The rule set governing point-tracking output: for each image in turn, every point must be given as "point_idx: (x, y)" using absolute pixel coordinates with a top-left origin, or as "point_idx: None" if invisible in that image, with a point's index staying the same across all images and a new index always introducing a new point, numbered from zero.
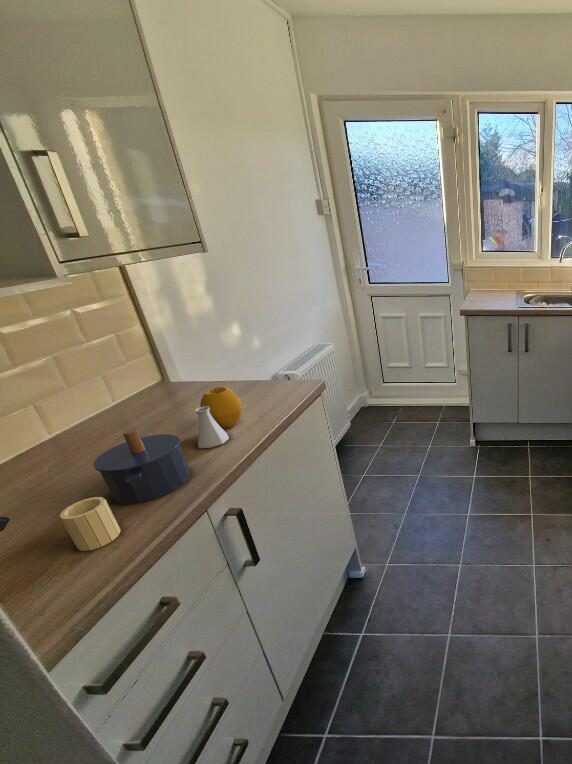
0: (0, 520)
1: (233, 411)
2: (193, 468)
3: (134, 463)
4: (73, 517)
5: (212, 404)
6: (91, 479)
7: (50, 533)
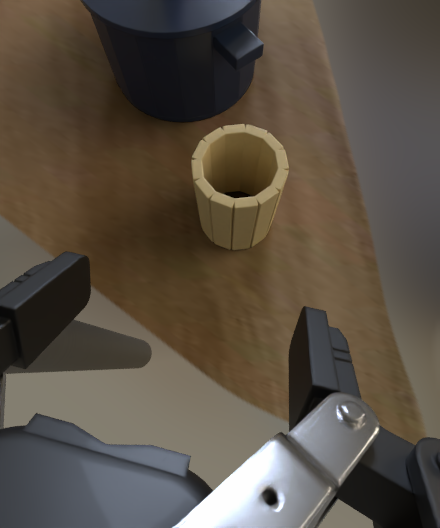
0: (346, 345)
1: None
2: None
3: (221, 1)
4: (258, 200)
5: None
6: (22, 62)
7: (103, 211)
